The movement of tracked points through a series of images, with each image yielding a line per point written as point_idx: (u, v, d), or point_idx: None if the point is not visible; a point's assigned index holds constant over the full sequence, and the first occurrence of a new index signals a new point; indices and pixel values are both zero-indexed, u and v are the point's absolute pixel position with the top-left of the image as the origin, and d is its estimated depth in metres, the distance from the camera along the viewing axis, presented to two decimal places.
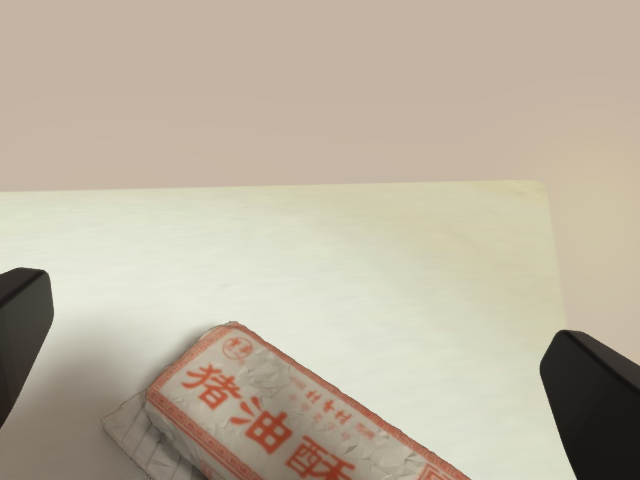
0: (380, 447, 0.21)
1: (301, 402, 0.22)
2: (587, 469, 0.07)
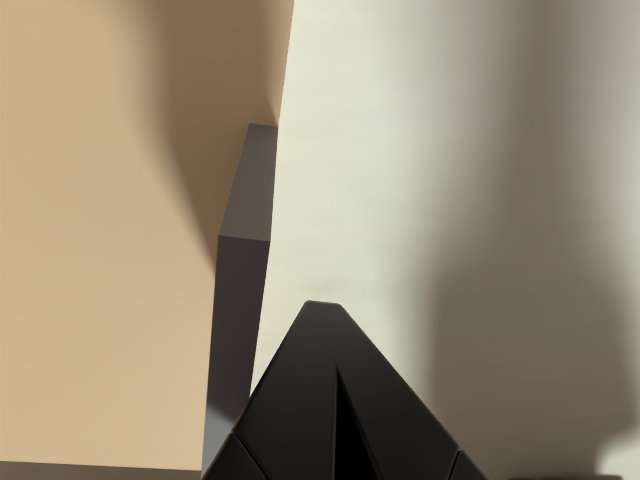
0: None
1: None
2: None
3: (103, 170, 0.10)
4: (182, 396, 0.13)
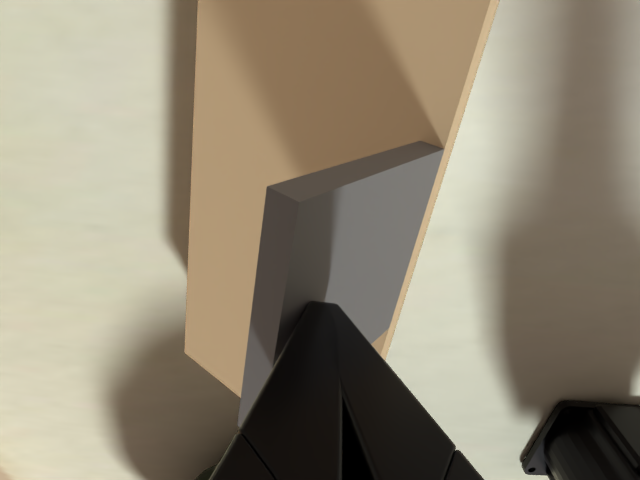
0: None
1: None
2: None
3: (305, 161, 0.12)
4: None
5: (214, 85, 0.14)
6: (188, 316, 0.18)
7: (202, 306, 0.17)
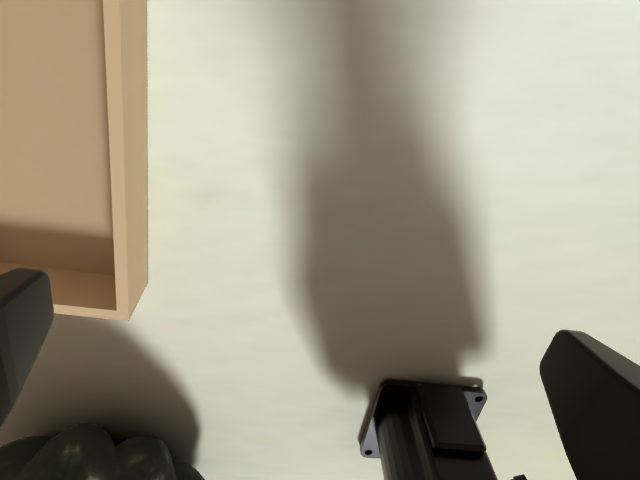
0: None
1: None
2: (587, 469, 0.07)
3: None
4: None
5: None
6: None
7: None
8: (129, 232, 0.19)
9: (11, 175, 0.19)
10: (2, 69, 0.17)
